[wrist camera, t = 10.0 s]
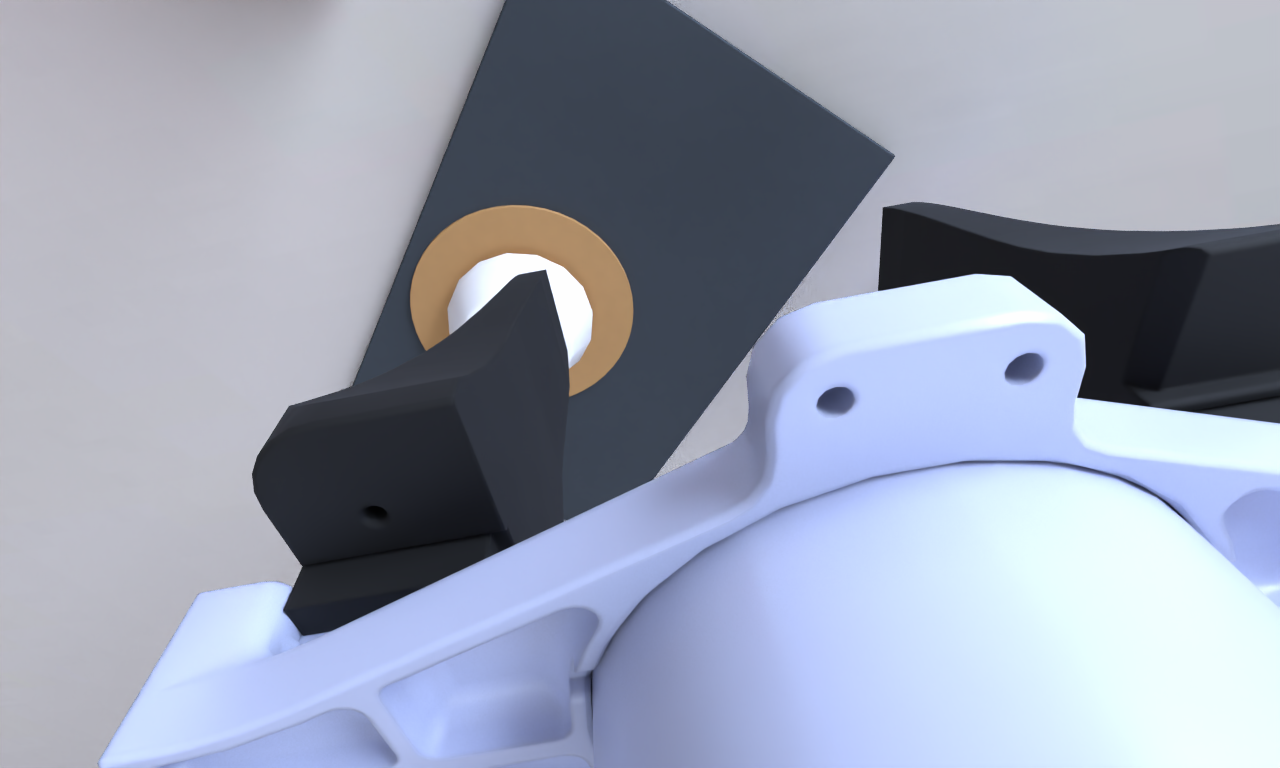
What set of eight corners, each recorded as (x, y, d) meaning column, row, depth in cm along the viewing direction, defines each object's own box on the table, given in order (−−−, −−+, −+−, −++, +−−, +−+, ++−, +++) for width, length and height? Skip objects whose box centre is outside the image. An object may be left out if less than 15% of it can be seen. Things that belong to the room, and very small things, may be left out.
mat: (889, 151, 22) (898, 158, 21) (610, 526, 31) (611, 539, 30) (540, -85, 17) (539, -87, 17) (334, 432, 26) (328, 445, 26)
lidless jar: (614, 285, 23) (481, 224, 21) (619, 325, 20) (469, 259, 19) (557, 389, 25) (433, 342, 24) (555, 436, 23) (416, 387, 21)
